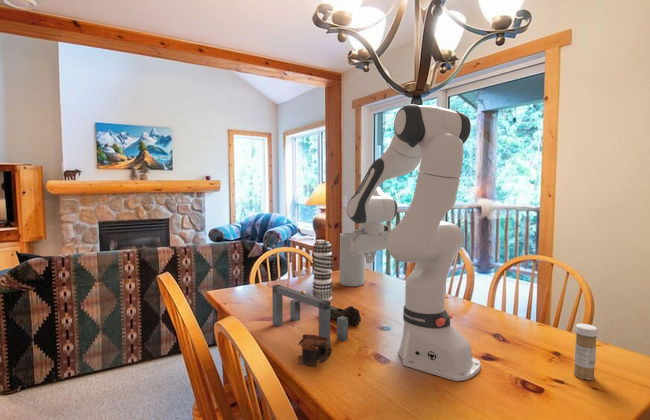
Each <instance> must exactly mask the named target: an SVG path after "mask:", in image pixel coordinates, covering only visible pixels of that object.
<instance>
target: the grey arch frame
mask: <svg viewBox="0 0 650 420" xmlns="http://www.w3.org/2000/svg"><path fill="white" fill-rule="evenodd" d="M271 288H272V290H271V291H272V293H271V294H272V295H271V296H272V297H271V299H272V326H273V327H281V326H283V325H284V324H283V323H284V322H283V321H284V319H283V318H284V317H283V315H284V314H283V305H284V304H283V296H284V297H287V298H290V299H291V300H294V299H295V300H298V301H300V303H304V304H306V305H309V306H312V307H315V308H317V309H318V336H323V337H326V338H328V341H327V343H328V344H329V345H330V346H331V318H330V305H331V301H330V300H327V301H326V300H323V299H320V298H317V297H314V296H313V295H311V294H308V293H307V292H306V291H305V290H301V291H298V290H297V289H294V288H293V289H292V288H289V287H288V286H287V287H286V286H284V285H280V284H275V285H272V287H271Z"/></svg>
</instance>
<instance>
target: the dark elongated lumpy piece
mask: <svg viewBox="0 0 650 420" xmlns="http://www.w3.org/2000/svg"><path fill="white" fill-rule="evenodd" d="M358 309H359V308H357V307H356V308H355V307H354V306H353V305H351V306H348V307H346V308H344V309H343V308H340V307H336V306H334V305H331V304H330V319H334V320H335V319H336V320H337V318H338V317H341V316H344V317H347V318H348V326H349V327H350V326H353V325H360V323H361V322H362V317H361V315H360V311H359V310H358Z"/></svg>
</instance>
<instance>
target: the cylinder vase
mask: <svg viewBox="0 0 650 420" xmlns="http://www.w3.org/2000/svg"><path fill="white" fill-rule="evenodd" d="M352 233H353V232H342V233H339V284H340V285H342V286H344V287H345V286H346V287H353V288H354V287H356V288H357V287H361V286H363V285H365V282H366V281H365V277H366V272H365V271H366V270H365V268H366V258H365V256H364V253H363V254H358V255H357V254H352V253H351V252H350V242H351V237H352Z"/></svg>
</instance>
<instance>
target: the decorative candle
mask: <svg viewBox="0 0 650 420" xmlns="http://www.w3.org/2000/svg"><path fill="white" fill-rule="evenodd" d="M312 245H313V253H312V254H311V257H312V259H311V261H312V263H311V265H312V273H313V281H312V288H313V289H312V296H314V297H317V298H320V299H323V300H326V301H330V300H332V299H333V297H332V296H333V290H332V288H333V286H332V284H333V282H332V273H333V271H332V269H333V265H334V264H333V262H332V261H333V260H334V259H333V258H334V255H333V254H332V253H333V252H332V244H331V243H330V241H328V240H317V241H315V243H314V244H312Z"/></svg>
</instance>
